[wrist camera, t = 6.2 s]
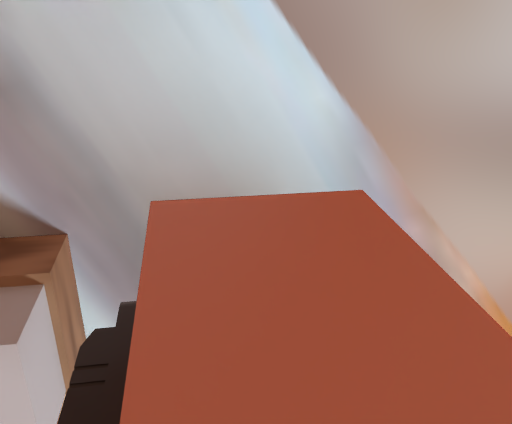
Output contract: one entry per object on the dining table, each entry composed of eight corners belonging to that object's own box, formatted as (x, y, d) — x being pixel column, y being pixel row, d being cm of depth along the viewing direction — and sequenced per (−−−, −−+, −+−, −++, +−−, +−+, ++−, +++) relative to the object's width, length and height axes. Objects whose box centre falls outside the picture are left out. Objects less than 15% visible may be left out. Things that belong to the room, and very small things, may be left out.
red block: (362, 190, 11) (610, 434, 5) (344, 353, 13) (501, 676, 7) (150, 201, 10) (108, 507, 4) (167, 372, 12) (155, 754, 6)
